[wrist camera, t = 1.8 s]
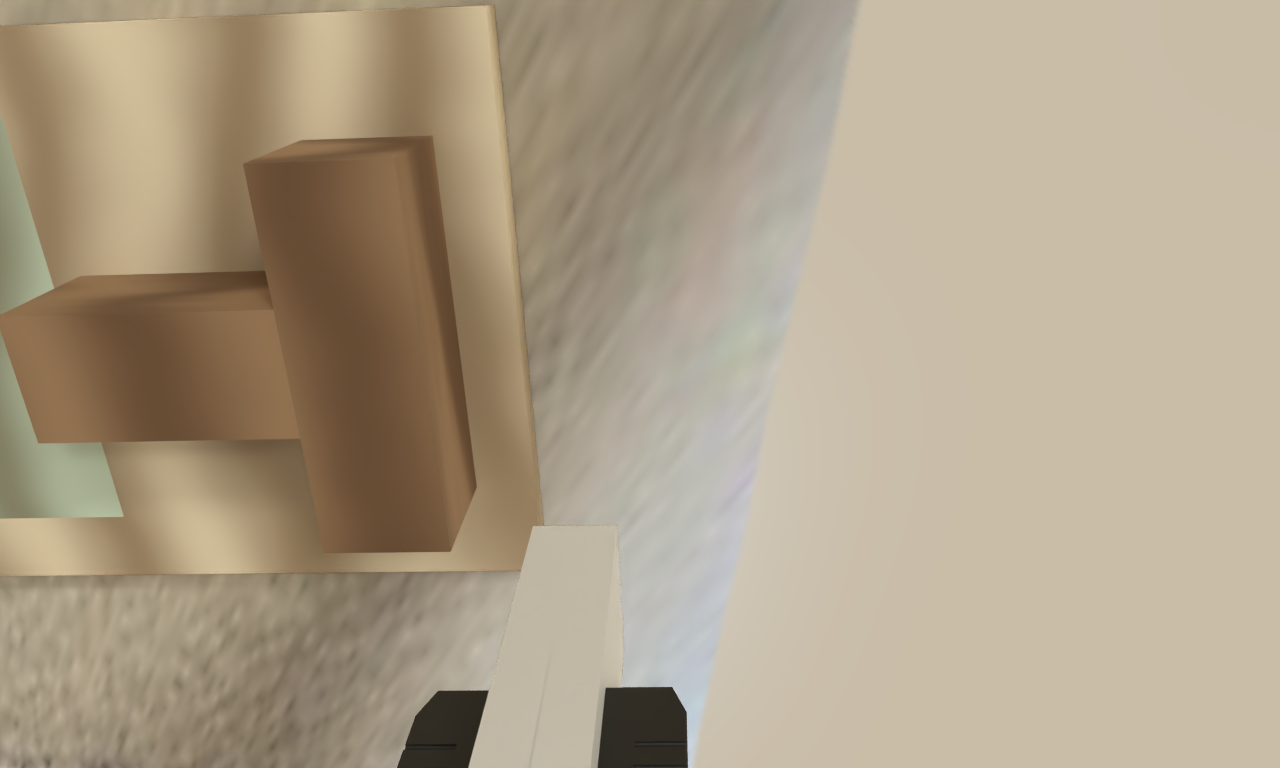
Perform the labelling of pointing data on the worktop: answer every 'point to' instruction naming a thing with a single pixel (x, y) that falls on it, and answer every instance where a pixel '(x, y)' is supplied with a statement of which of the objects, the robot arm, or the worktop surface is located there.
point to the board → (244, 266)
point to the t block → (286, 346)
